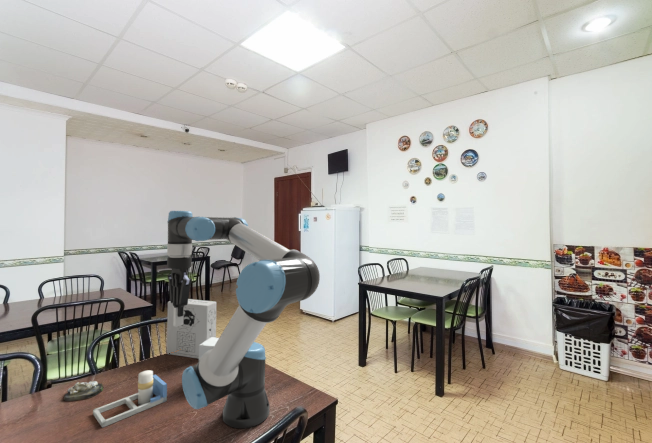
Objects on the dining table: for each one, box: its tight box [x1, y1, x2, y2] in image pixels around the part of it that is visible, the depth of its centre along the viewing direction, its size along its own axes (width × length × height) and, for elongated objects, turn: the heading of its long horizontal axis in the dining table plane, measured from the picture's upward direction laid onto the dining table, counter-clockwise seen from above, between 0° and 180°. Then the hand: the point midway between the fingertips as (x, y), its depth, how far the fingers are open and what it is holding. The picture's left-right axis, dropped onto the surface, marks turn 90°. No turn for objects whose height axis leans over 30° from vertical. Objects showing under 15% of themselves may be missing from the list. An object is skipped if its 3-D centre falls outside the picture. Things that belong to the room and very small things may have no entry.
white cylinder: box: [137, 369, 154, 406], centre depth 109 cm, size 5×5×10 cm
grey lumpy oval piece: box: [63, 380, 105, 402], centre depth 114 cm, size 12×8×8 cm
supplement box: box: [198, 337, 220, 361], centre depth 126 cm, size 9×9×15 cm
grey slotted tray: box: [92, 374, 168, 429], centre depth 106 cm, size 19×10×6 cm, turn 140°
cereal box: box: [166, 298, 217, 360], centre depth 148 cm, size 22×8×25 cm, turn 76°
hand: (178, 325), depth 105 cm, fingers closed
